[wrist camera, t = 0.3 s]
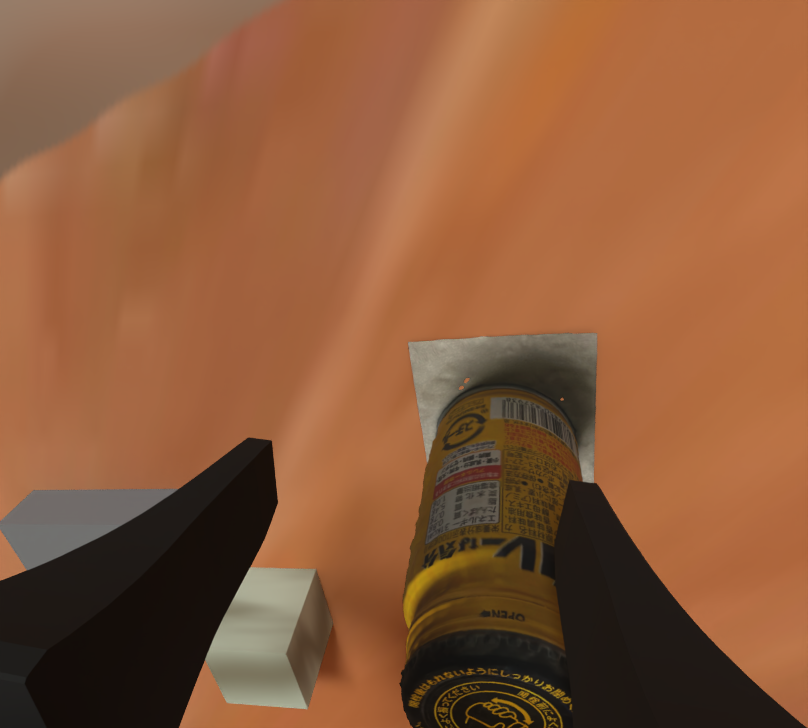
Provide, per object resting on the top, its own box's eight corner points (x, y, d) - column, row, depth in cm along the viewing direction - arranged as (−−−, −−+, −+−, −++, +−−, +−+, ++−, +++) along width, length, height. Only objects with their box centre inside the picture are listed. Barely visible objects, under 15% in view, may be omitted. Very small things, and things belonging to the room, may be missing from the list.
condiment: (433, 498, 27) (388, 780, 17) (408, 339, 23) (328, 581, 13) (592, 498, 25) (652, 808, 15) (596, 329, 21) (679, 593, 11)
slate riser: (232, 599, 34) (209, 644, 31) (102, 594, 36) (71, 637, 33) (182, 483, 30) (151, 524, 27) (38, 485, 32) (-3, 524, 29)
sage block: (333, 622, 33) (307, 709, 29) (262, 619, 34) (227, 702, 30) (316, 568, 31) (285, 653, 26) (240, 566, 32) (199, 648, 27)
